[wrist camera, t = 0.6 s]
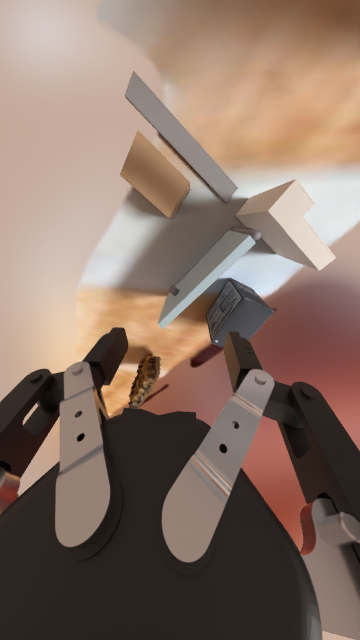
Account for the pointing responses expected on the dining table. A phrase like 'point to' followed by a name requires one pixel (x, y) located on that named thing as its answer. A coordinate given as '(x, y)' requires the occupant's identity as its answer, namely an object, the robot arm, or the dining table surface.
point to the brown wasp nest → (144, 380)
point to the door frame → (258, 211)
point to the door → (207, 271)
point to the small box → (236, 312)
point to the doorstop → (155, 176)
